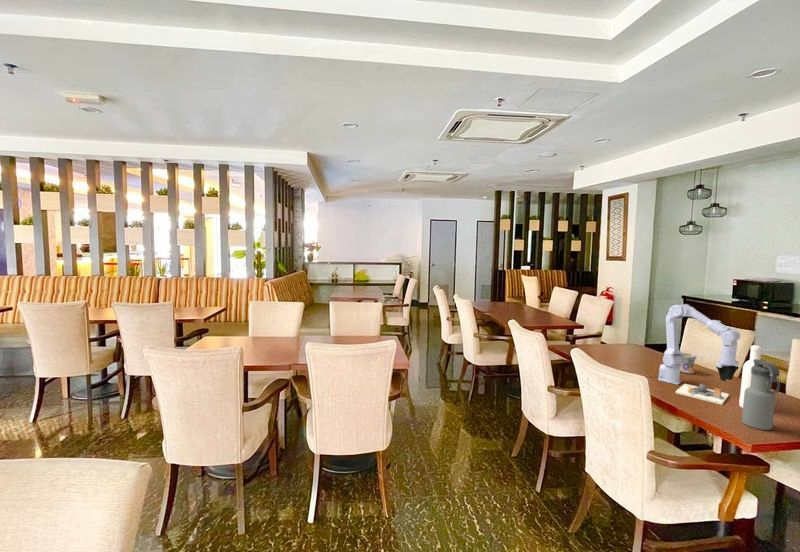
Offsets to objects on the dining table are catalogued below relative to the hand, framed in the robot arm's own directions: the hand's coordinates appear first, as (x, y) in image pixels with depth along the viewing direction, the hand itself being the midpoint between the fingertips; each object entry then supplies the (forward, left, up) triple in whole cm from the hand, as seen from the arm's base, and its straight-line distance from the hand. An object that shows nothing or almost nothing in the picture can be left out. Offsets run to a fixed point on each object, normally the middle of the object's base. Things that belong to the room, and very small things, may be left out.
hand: (726, 379), depth 199 cm
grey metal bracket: (-6, -4, -8) cm, 11 cm away
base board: (-8, -3, -9) cm, 13 cm away
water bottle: (+16, -29, -10) cm, 34 cm away
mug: (-24, +36, -10) cm, 45 cm away
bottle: (+11, -6, -10) cm, 16 cm away
